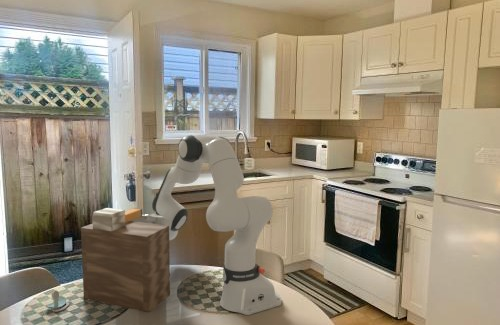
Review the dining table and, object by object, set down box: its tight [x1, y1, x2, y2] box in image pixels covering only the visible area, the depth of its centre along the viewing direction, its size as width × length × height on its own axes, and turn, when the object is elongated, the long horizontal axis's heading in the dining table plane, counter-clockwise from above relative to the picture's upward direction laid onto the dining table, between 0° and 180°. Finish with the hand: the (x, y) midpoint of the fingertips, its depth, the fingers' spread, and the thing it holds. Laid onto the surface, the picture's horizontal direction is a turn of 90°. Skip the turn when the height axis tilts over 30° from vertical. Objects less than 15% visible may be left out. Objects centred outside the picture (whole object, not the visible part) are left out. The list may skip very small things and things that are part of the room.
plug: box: [125, 207, 144, 223], centre depth 147 cm, size 18×4×3 cm, turn 161°
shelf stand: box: [80, 207, 171, 313], centre depth 141 cm, size 14×28×33 cm, turn 71°
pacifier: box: [46, 290, 70, 313], centre depth 134 cm, size 7×6×6 cm
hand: (136, 215), depth 154 cm, fingers open, 8 cm apart
